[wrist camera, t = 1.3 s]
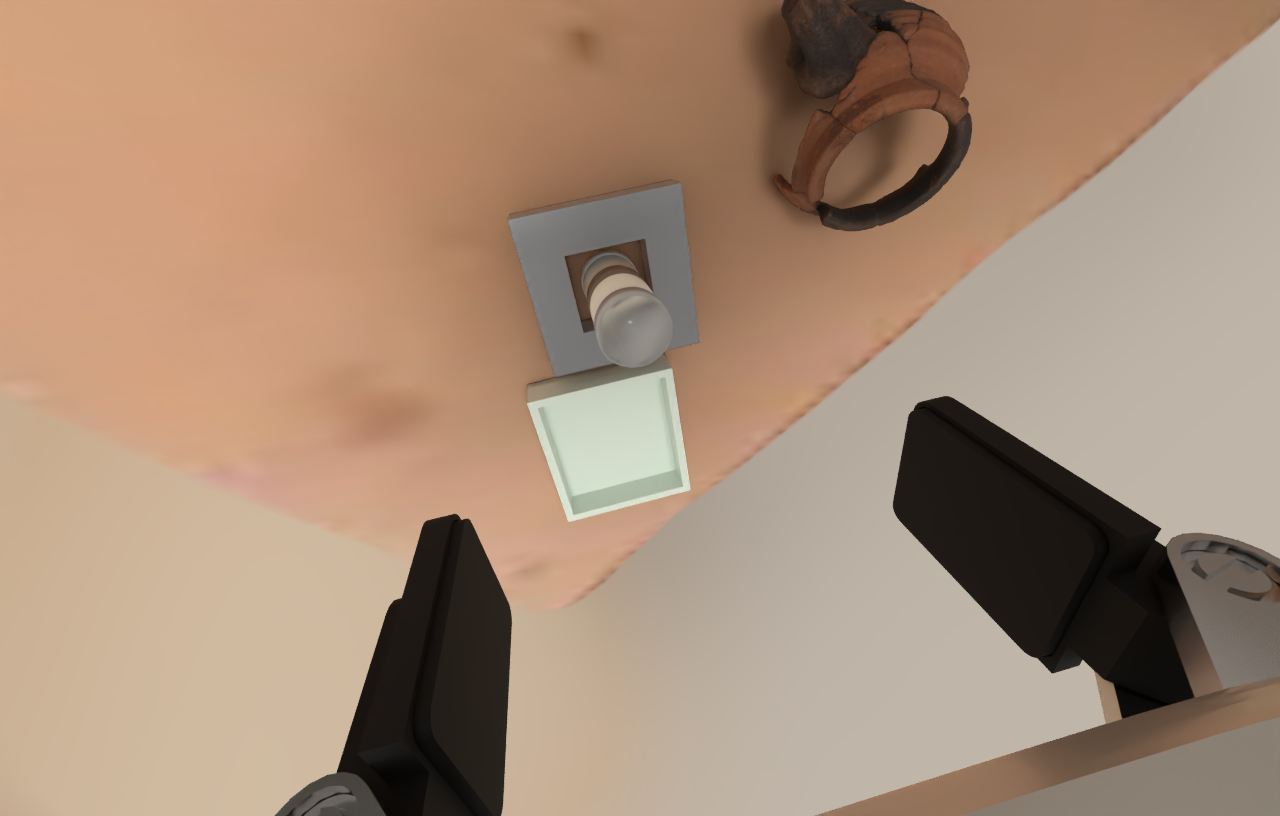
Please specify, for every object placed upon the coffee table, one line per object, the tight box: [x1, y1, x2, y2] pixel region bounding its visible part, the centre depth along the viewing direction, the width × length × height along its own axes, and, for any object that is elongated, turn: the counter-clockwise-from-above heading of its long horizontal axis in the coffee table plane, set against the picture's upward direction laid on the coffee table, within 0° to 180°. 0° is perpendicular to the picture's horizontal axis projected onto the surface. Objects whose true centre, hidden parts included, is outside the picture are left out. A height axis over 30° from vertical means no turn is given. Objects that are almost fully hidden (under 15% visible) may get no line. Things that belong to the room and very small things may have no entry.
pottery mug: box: [773, 0, 972, 231], centre depth 23 cm, size 12×10×8 cm
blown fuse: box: [581, 249, 673, 368], centre depth 24 cm, size 3×3×9 cm
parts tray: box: [527, 353, 691, 522], centre depth 32 cm, size 9×10×2 cm
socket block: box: [508, 180, 699, 377], centre depth 27 cm, size 9×9×2 cm
